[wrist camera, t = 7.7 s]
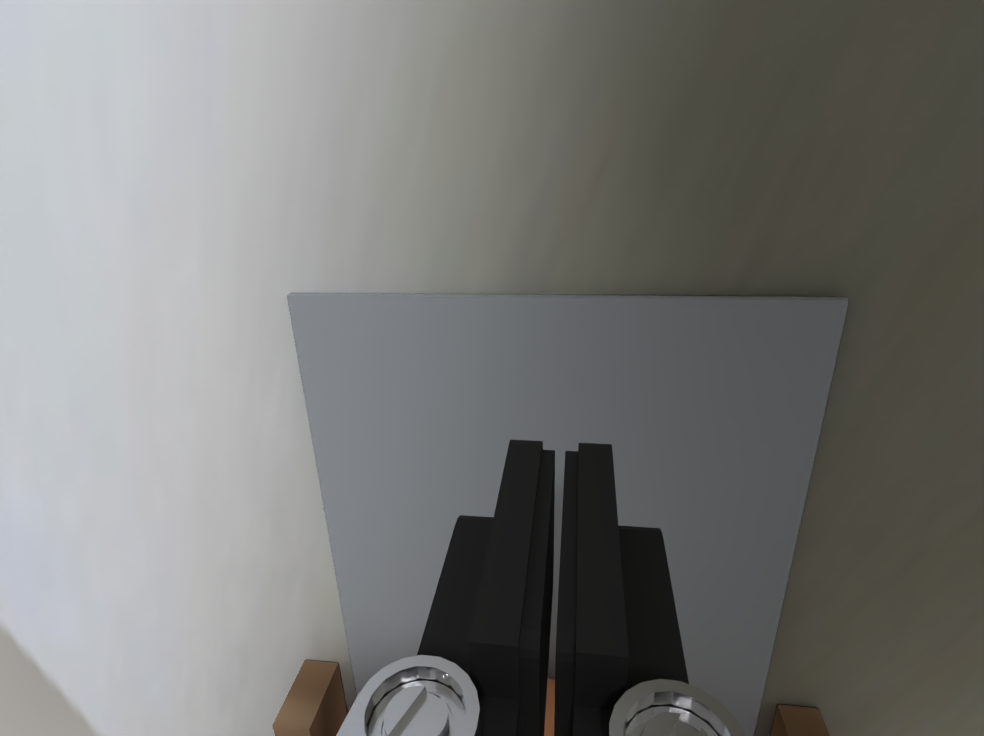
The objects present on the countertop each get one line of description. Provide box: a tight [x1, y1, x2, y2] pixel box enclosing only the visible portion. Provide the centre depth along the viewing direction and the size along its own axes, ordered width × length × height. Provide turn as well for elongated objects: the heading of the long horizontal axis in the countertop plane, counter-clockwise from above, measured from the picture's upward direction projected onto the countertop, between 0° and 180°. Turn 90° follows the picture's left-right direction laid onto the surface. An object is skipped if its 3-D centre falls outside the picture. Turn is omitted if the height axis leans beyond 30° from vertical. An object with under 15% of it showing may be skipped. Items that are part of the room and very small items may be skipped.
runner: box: [287, 293, 849, 736], centre depth 17 cm, size 26×11×1 cm, turn 2°
